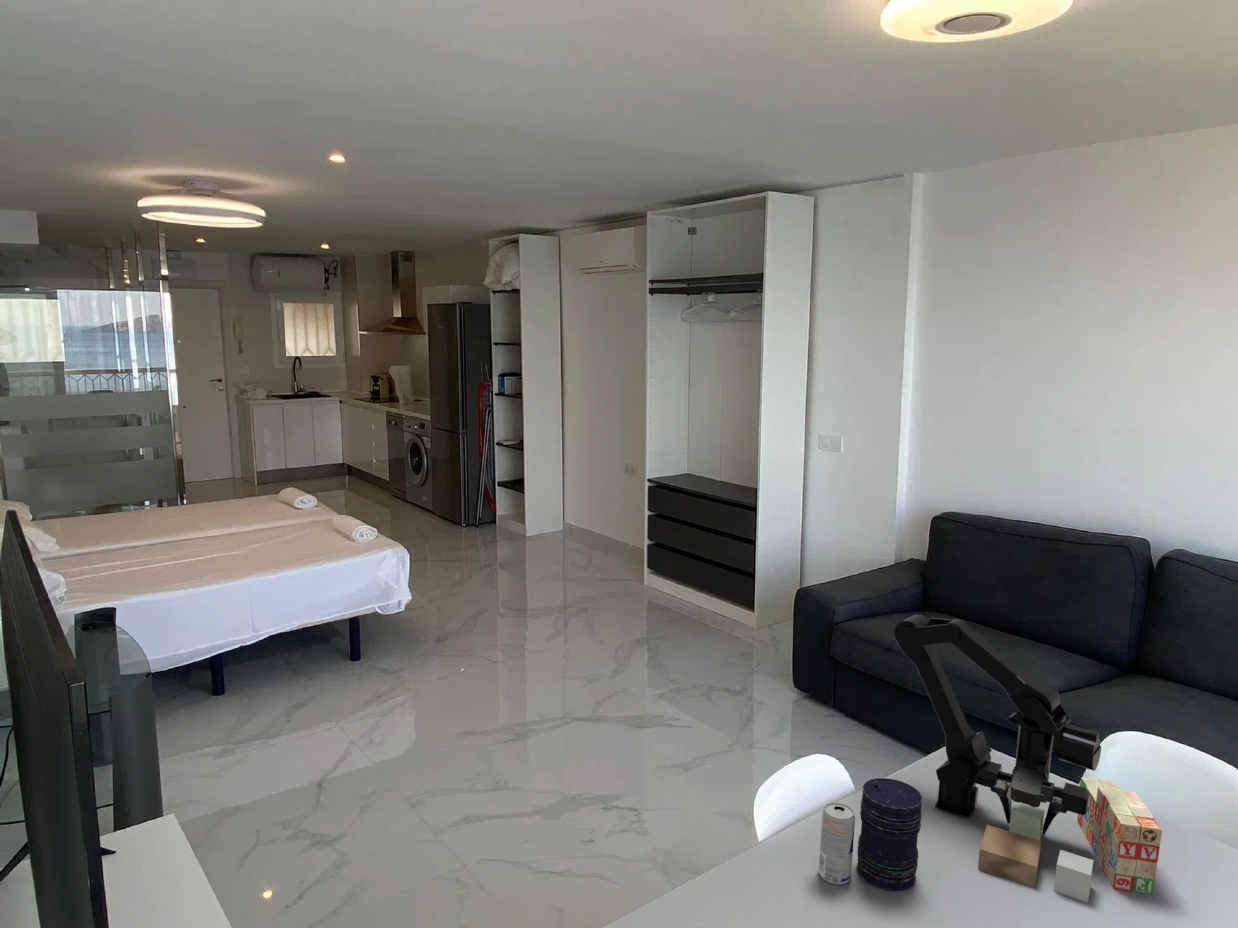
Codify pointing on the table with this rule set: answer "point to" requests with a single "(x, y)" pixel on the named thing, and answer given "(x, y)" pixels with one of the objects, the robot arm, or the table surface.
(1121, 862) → the stack of blocks
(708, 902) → the table surface
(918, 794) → the storage jar
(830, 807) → the energy drink
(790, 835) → the table surface
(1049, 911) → the table surface
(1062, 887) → the grey cube
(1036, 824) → the sage cube
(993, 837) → the walnut block
